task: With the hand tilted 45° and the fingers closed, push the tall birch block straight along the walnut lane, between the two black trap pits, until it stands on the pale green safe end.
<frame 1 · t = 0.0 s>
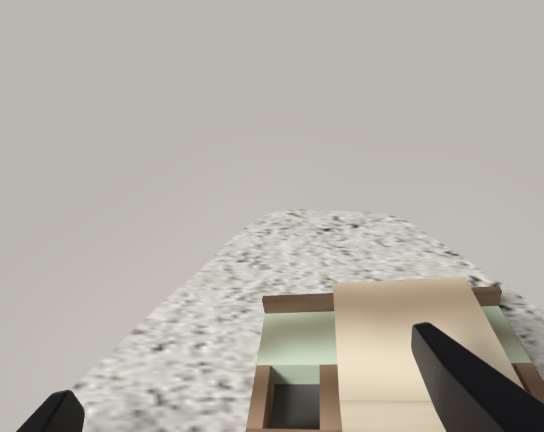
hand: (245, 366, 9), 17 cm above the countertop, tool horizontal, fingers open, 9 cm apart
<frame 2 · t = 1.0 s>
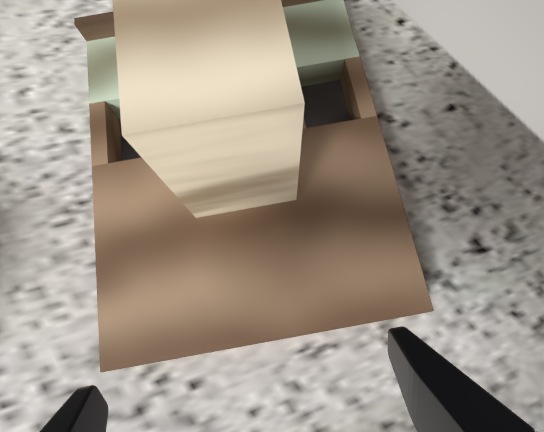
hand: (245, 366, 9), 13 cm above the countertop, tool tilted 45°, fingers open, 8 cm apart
birch block: (238, 162, 22), point 2 cm above the countertop, touching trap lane
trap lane: (242, 171, 25), on the countertop
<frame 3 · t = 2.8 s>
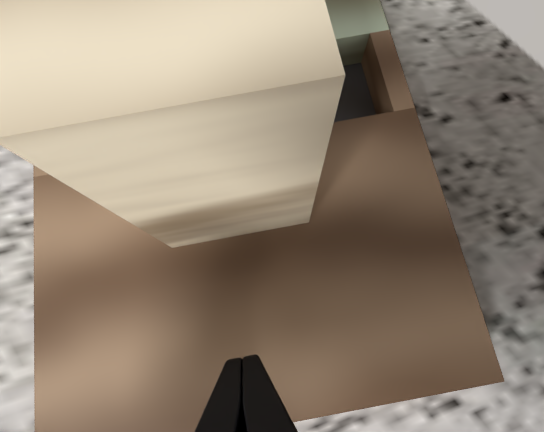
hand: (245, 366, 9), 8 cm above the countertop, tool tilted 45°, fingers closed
birch block: (230, 171, 16), point 2 cm above the countertop, touching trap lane
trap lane: (235, 181, 19), on the countertop
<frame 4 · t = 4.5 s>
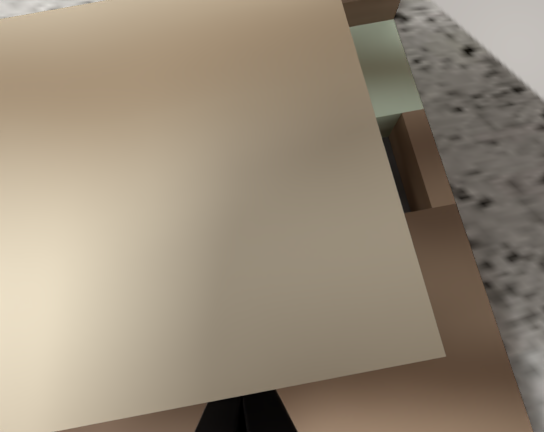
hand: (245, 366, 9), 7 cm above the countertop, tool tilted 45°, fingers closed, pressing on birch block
birch block: (243, 266, 15), point 3 cm above the countertop, touching gripper
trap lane: (250, 274, 17), on the countertop
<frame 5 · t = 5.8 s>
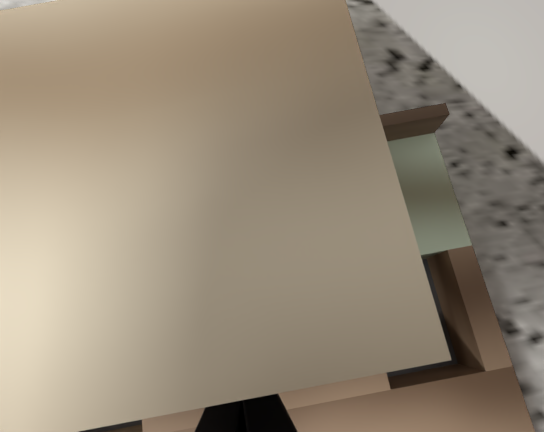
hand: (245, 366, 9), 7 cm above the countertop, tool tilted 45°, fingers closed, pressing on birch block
birch block: (243, 265, 14), point 3 cm above the countertop, touching gripper
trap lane: (274, 424, 15), on the countertop
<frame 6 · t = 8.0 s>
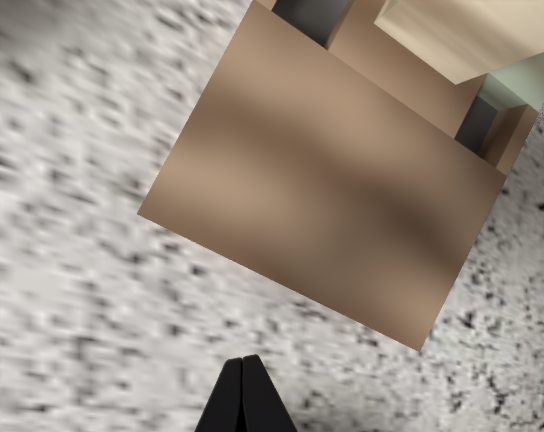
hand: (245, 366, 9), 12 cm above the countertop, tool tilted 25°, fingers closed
birch block: (440, 8, 20), point 2 cm above the countertop, touching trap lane
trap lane: (364, 120, 22), on the countertop
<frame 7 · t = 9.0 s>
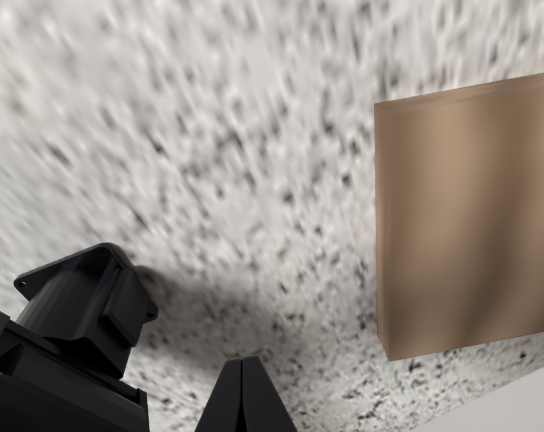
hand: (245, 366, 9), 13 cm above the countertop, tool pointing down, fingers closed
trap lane: (537, 210, 24), on the countertop
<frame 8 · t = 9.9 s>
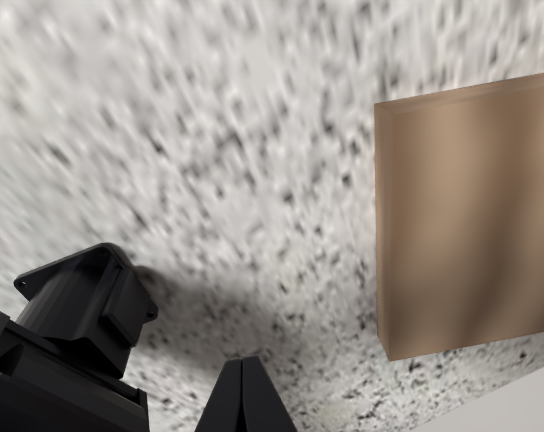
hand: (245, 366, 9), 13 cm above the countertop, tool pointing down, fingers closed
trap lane: (537, 210, 24), on the countertop
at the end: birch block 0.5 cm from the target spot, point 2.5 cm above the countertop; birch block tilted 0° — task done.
